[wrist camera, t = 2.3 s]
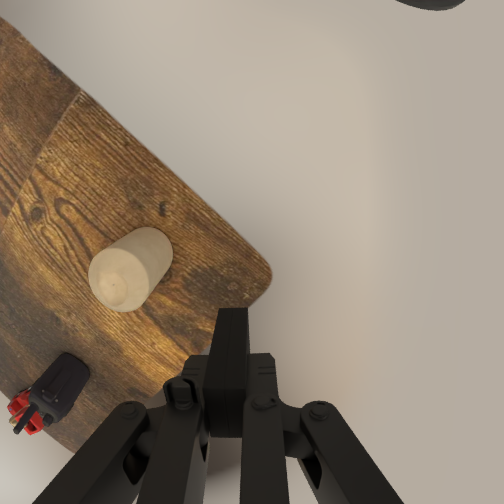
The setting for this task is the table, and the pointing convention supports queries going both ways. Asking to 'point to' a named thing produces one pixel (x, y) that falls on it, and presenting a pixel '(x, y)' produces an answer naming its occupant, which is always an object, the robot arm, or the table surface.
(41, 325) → the table surface
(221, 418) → the robot arm
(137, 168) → the table surface
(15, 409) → the toy fire truck
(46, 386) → the two-way radio
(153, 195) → the table surface
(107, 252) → the candle
